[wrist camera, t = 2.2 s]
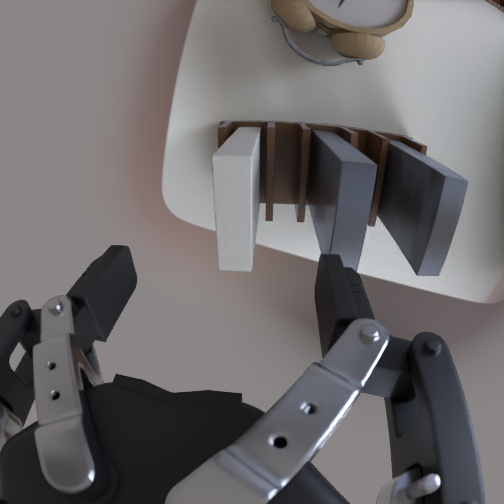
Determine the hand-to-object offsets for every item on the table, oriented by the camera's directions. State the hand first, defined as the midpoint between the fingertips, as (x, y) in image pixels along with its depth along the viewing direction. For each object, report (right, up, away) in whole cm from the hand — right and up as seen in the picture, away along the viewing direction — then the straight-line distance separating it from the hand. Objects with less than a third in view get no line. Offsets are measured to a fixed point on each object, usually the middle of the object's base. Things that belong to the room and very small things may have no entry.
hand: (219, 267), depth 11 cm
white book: (+1, +9, +14) cm, 17 cm away
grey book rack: (+8, +9, +14) cm, 19 cm away
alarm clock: (+9, +23, +6) cm, 26 cm away
